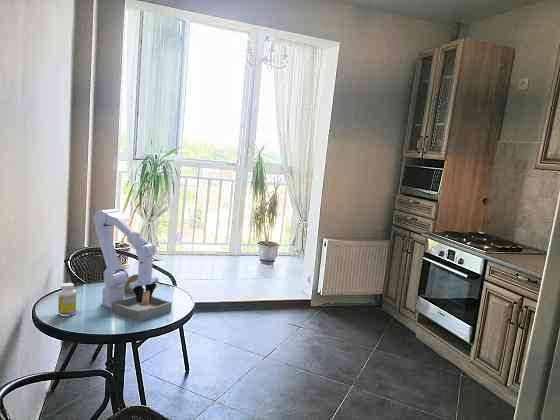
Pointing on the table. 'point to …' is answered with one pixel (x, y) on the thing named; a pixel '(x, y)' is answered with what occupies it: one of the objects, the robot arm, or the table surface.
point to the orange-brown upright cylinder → (145, 298)
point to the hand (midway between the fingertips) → (143, 300)
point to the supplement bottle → (67, 299)
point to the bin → (140, 308)
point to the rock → (127, 286)
